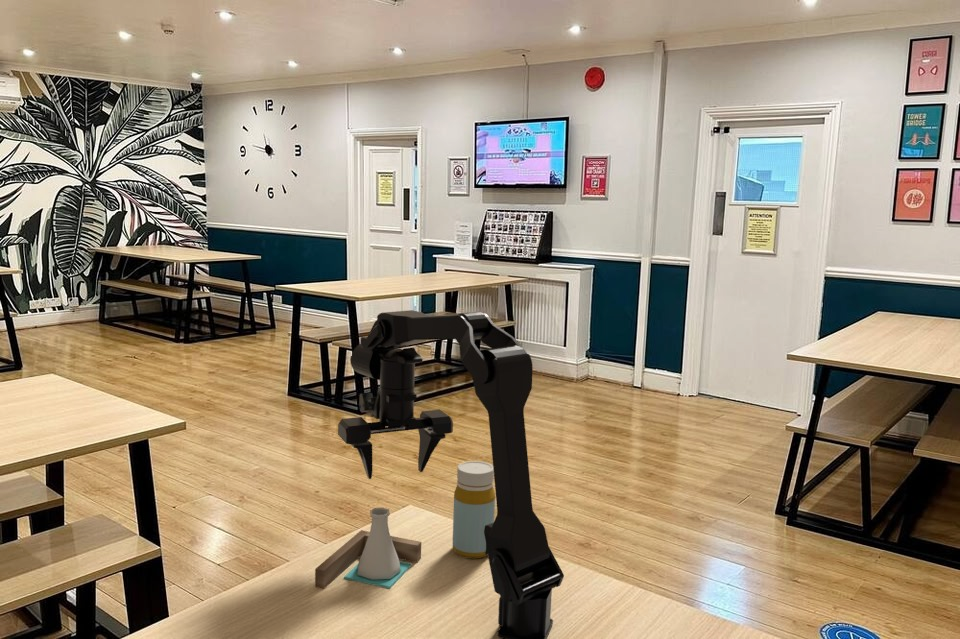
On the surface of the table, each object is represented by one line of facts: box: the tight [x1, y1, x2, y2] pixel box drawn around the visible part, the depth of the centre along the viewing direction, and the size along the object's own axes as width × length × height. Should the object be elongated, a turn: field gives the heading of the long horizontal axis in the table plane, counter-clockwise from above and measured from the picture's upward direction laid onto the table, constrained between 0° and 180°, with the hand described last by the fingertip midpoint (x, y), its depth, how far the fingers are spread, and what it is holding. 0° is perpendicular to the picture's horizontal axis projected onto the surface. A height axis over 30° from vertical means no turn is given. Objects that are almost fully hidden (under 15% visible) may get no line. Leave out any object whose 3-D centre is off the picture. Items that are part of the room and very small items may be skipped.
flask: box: [357, 507, 401, 580], centre depth 118 cm, size 7×7×10 cm
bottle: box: [452, 460, 496, 559], centre depth 126 cm, size 7×7×15 cm
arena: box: [314, 530, 422, 590], centre depth 118 cm, size 11×15×3 cm
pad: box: [343, 560, 412, 589], centre depth 118 cm, size 8×8×1 cm
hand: (395, 474), depth 125 cm, fingers open, 9 cm apart
